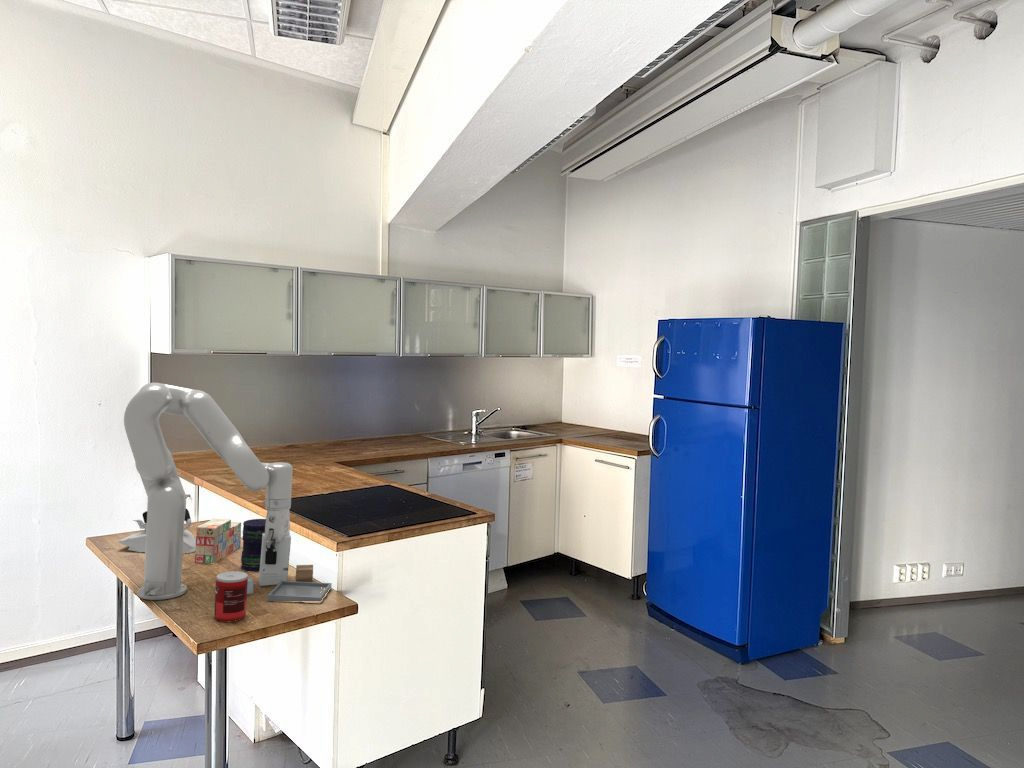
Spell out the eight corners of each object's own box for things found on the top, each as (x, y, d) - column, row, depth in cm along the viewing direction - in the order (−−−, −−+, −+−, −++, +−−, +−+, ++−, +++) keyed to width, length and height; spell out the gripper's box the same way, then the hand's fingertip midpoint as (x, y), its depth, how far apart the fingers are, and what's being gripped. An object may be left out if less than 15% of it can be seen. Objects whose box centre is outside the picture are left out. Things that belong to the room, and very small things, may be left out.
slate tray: (320, 604, 189) (320, 597, 189) (266, 601, 189) (267, 595, 189) (331, 589, 202) (331, 583, 202) (281, 586, 202) (281, 580, 202)
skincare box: (259, 586, 201) (262, 537, 200) (258, 580, 206) (261, 532, 206) (288, 584, 204) (291, 536, 204) (287, 578, 210) (289, 531, 209)
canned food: (227, 609, 181) (229, 569, 181) (252, 614, 179) (254, 573, 179) (207, 619, 174) (209, 577, 173) (232, 624, 171) (234, 581, 171)
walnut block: (312, 585, 205) (313, 569, 205) (295, 586, 203) (296, 569, 203) (312, 580, 210) (313, 564, 210) (295, 580, 208) (296, 565, 208)
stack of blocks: (223, 546, 241) (225, 512, 241) (240, 547, 241) (242, 513, 241) (194, 563, 220) (196, 526, 219) (213, 564, 219) (215, 527, 219)
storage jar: (275, 570, 217) (278, 524, 217) (243, 573, 212) (246, 526, 212) (269, 561, 226) (271, 517, 225) (238, 564, 221) (240, 519, 220)
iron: (134, 544, 238) (136, 502, 237) (203, 547, 239) (205, 505, 238) (117, 552, 227) (120, 508, 226) (190, 555, 228) (192, 512, 228)
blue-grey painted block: (252, 593, 195) (253, 580, 195) (239, 596, 192) (240, 582, 192) (239, 586, 200) (239, 573, 200) (226, 589, 197) (227, 576, 197)
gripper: (281, 509, 196) (278, 569, 197) (298, 498, 214) (295, 553, 214) (255, 508, 196) (252, 568, 196) (274, 497, 213) (272, 552, 214)
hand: (275, 559), depth 205 cm, fingers closed on skincare box, 7 cm apart
